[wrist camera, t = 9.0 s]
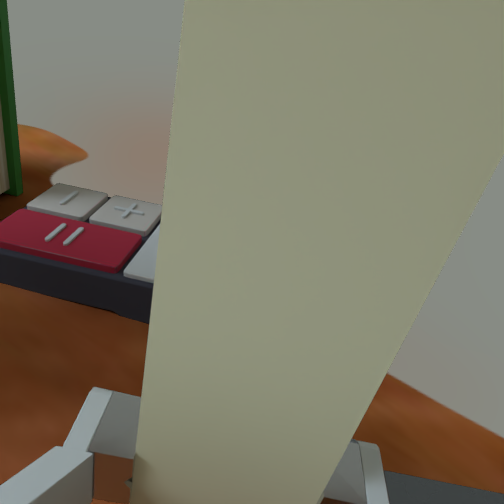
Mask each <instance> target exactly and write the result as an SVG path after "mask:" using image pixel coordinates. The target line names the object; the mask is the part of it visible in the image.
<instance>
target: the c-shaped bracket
mask: <svg viewBox="0 0 504 504" xmlns="http://www.w3.org/2000/svg"><path fill="white" fill-rule="evenodd" d="M503 155H504V0H185V2H184V11H183V21H182V30H181V39H180V48H179V58H178V66H177V75H176V85H175V94H174V103H173V113H172V121H171V132H170V140H169V150H168V158H167V168H166V176H165V185H164V195H163V204H162V213H161V222H160V231H159V240H158V249H157V259H156V268H155V277H154V286H153V295H152V304H151V314H150V323H149V332H148V341H147V350H146V359H145V368H144V378H143V387H142V396H141V405H140V414H139V423H138V433H137V442H136V451H135V453H136V454H135V465H134V472H133V478H132V492H131V499H130V504H316V503H317V501H318V500H319V498H320V496H321V494H322V492H323V491H324V489H325V487H326V485H327V483H328V482H329V480H330V478H331V476H332V474H333V472H334V470H335V469H336V467H337V465H338V463H339V461H340V459H341V457H342V455H343V454H344V452H345V450H346V448H347V446H348V444H349V442H350V441H351V439H352V437H353V435H354V433H355V431H356V429H357V427H358V426H359V424H360V422H361V420H362V418H363V416H364V414H365V413H366V411H367V409H368V407H369V405H370V403H371V401H372V399H373V398H374V396H375V394H376V392H377V390H378V388H379V386H380V385H381V383H382V381H383V379H384V377H385V375H386V373H387V371H388V370H389V368H390V366H391V364H392V362H393V360H394V358H395V357H396V354H397V353H398V351H399V349H400V347H401V345H402V343H403V342H404V339H405V338H406V336H407V334H408V332H409V330H410V329H411V327H412V325H413V323H414V321H415V319H416V317H417V315H418V313H419V312H420V310H421V308H422V306H423V304H424V302H425V300H426V299H427V297H428V295H429V293H430V291H431V289H432V287H433V286H434V284H435V282H436V280H437V278H438V276H439V274H440V273H441V271H442V269H443V267H444V265H445V263H446V261H447V259H448V258H449V256H450V254H451V252H452V250H453V248H454V246H455V244H456V243H457V241H458V239H459V237H460V235H461V233H462V231H463V230H464V228H465V226H466V224H467V222H468V220H469V218H470V217H471V215H472V213H473V211H474V209H475V207H476V205H477V203H478V202H479V200H480V198H481V196H482V194H483V192H484V190H485V188H486V187H487V185H488V183H489V181H490V179H491V177H492V175H493V174H494V172H495V170H496V168H497V166H498V164H499V162H500V160H501V159H502V157H503Z"/></svg>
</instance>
